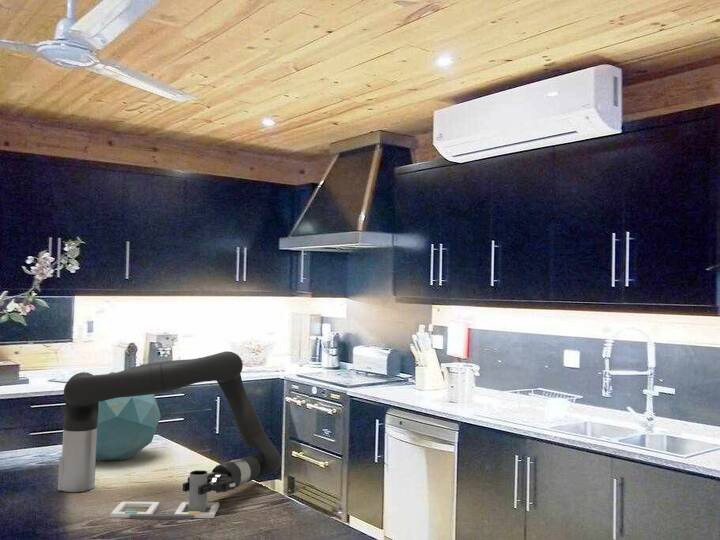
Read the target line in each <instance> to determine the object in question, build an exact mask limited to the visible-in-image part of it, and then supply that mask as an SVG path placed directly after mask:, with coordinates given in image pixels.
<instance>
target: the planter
mask: <svg viewBox="0 0 720 540" xmlns="http://www.w3.org/2000/svg"><path fill="white" fill-rule="evenodd" d="M207 473H208V471H207V470H201V469H200V470H193V471H190V472H189V477H190V485H189V491H188V502H189V508H188V512H189V511H201V512H207V508H206V502H207V498H208V497H207V496H208V493H205V494H202V495H199V494H198V487H199V486H201V485H204V484H206V483H207Z"/></svg>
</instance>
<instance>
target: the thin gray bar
mask: <svg viewBox="0 0 720 540" xmlns="http://www.w3.org/2000/svg"><path fill="white" fill-rule="evenodd" d="M128 519H129V520H194V519H195V518H194V515H174V514H153V515H130V516H129V518H128Z"/></svg>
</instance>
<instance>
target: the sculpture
mask: <svg viewBox="0 0 720 540" xmlns="http://www.w3.org/2000/svg"><path fill="white" fill-rule="evenodd" d="M112 373H115V372H113V371H111V372H110V373H109V372H108V374H112ZM160 419H161V412H160V409H159V405H158V402H157V400H156V396H155V394H151V395H142V396H133V397H120V398H114V399H109V400H105V401H101V402H99V411H98V423H97V445H96V461H99V462H104V461H105V462H107V461H106V460H109V461H125V460H126V461H127V460H130V459H131V458H132V457H134V456H135V455H136V454H137V453H139V452H140V451H142V450H143V449H145V448H146V447H147V446H149V445H150V444H151V443H152V442H153V439H154V437H155V434H156V430H157V429H158V428H157V427H158V424H159V422H160V421H161V420H160Z"/></svg>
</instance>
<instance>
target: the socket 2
mask: <svg viewBox="0 0 720 540" xmlns="http://www.w3.org/2000/svg"><path fill="white" fill-rule="evenodd" d="M219 507H220V502H218V501H217V502H214V501H213V502H212V501H211V502H210V501H209V502H206V509H209V511H206V512H201V511H189V510H188V511H185V510H186V509H189V501H182V502H181V503H180V505H179V506H178V508H177V509H176V510H175V512H174V514H173V515H194V519H214V518H215V516H216V514H217V512H218V509H219Z"/></svg>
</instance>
